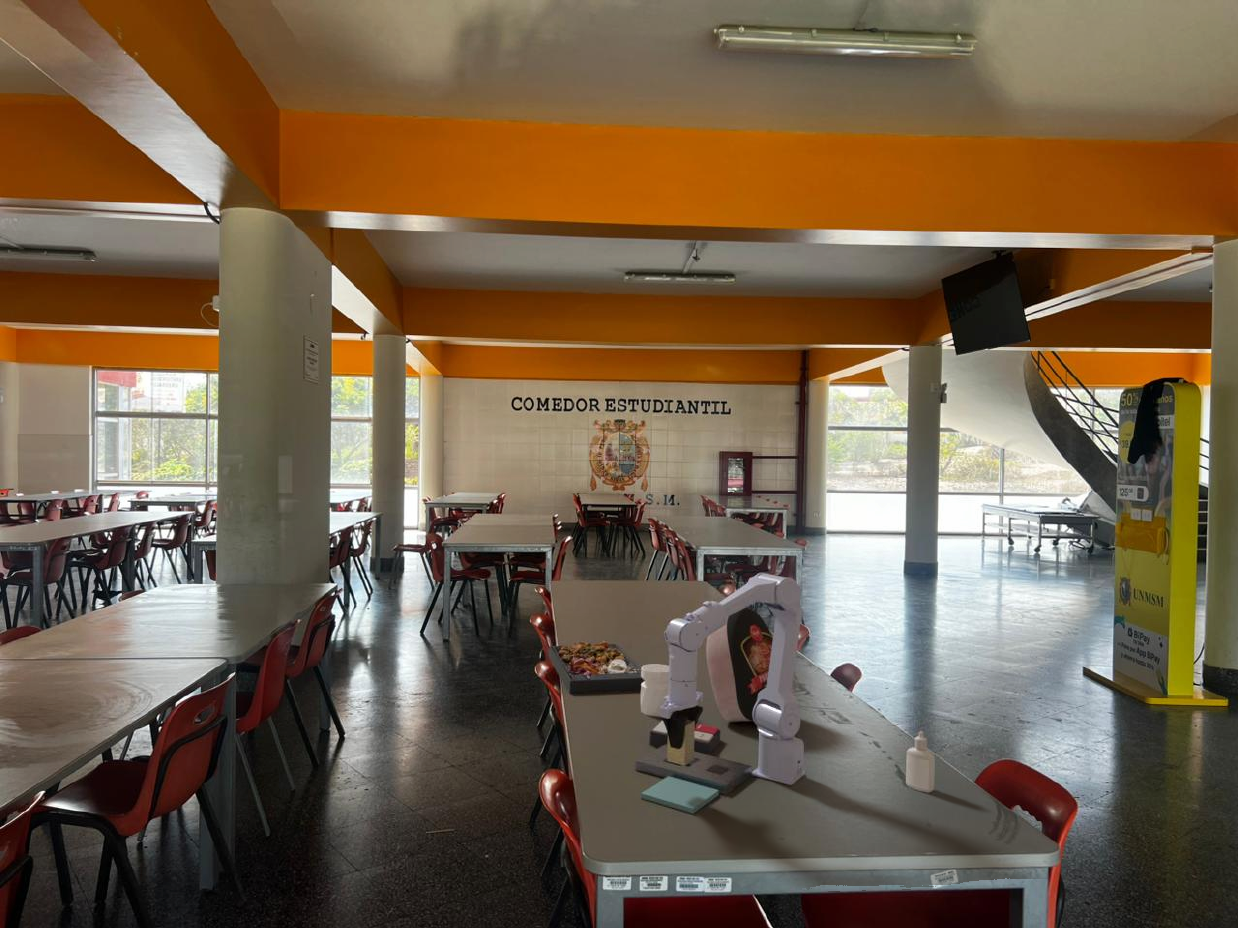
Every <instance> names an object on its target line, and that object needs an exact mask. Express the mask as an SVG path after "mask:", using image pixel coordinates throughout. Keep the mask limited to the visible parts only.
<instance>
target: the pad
mask: <svg viewBox="0 0 1238 928" xmlns="http://www.w3.org/2000/svg"><path fill="white" fill-rule="evenodd" d="M719 794H720V793H719V790H716V789H713V788H709V787H706V786H702V785H698V784H695V783H691V782H687V781H684V780H680V779H677V778H673V777H669V776H668V777H666V778H663V779H662V780H660V781H658V782H656V783H655V784H654V785H652V786H650V787H649V788H647V789H646V790H644V791H643V792H641V793H640V799H642V800H646V801H650V802H651V803H656V804H659V805H662V806H666V807H668V808H672V809H675V810H679V811H683V812H684V813H689V814H692V815H693V814H695V813H696V812H698V811H699V810H701V809H702V808H703V807H704V806H706V805H707V804H708V803H710V802H711V801H713V800H714V799H716V798H717V797H718V796H719Z"/></svg>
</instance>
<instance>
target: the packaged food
mask: <svg viewBox="0 0 1238 928" xmlns="http://www.w3.org/2000/svg"><path fill="white" fill-rule="evenodd" d="M772 642H773V635H772V632H771V631H770V629H769V627H768V625H767V623H766V622H765V620H764V618H762V616H761V614H759V612H757V611H756V610H754V609H752V608H750V607H748V606H747V607H746V608H744V609H742V610H740V611H738V612H736V613H734V614H732V615H730V616H729V617H728V619H727V623H726V625H725V626H723V627H721V628H720V629H718V630H717V631H715V632H713V633H712V634H710V635H709V636H707V637H706V647H705V649H706V651H705V652H706V663H707V669H708V675H709V681H710V684H711V690H712V693H713V695H714V696H713V697H714V699H715V700H714V701H715V703H716V707H717V709H718V712H719V713H720V715H721V716H722V717H723V719H724V720H725V721H727V722H731V723H735V722H736V723H737V722H754V720H753V717H752V712H753V708H754V706H755V704H756V702H757V699H758V694H759V692H761V691H762V690H764V689H765V688H766V687H767V680H768V672H769V665H770V657H771V650H772Z"/></svg>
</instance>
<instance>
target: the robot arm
mask: <svg viewBox="0 0 1238 928" xmlns="http://www.w3.org/2000/svg"><path fill="white" fill-rule="evenodd" d="M801 596H802V587H801V586H800V584H798V582H797V581H796V580H795V579H794V578H792V577H785V576H779V575H774V574H770V573H768V572H767V573H766V572H759V573H757V574H756V575H755V576H752V577H749V579H748V581H747V582H746V583H745V584H744V585H742V586H740V588H738V589H737V590H735V591H734V592H732V593H731V594H729V595H728V596H727V597H725V598H724V599H722V600H721V601H719V602H718V601H715V600H714V601H713V600H711V601H710V600H709V601H708V600H706V601H704V602H702V606H701V607H699V608H698V609H696V610H694V611H692V612H688V613H686V614H685V616H684V617H683V618H681V617H678V618H674V619H672V620H671V621H670V622H669V623H668V625H666V626H667V627H666V628H665V631H663V636H664V640H665V641H666V643H667V645H668V652H669V656H668V659H669V661H668V666H669V695H668V696H665V697H664V701H666V702H665V703H664V705H663V706H662V707H660V716H659V717H660V719H661V721H662V720H663V722H664V724H665V727H666V730H667V733H668V737H669V742H670V746H671V747H672V748H676V749H680V748H681V745H682V740H683V732H684V728H685V724H686V722H687V720H688V719H689V720H693V721H695V728H696V724H698V722H699V719H700V717H701V715H702V714H703V711H704V707H703V706H701V705H698V704H699V703H700V704H701V703H702V702H703V703H704V692H701V691H697V682H698V681H697V680H698V679H697V678H698V676H697V675H698V649H700V648H701V646H702V645H703V643H704V640H705V639H707V638H708V636H709V635H710V634H712V633H713V632H715V631H717V630H718V629H720V628H721V627H723V626H725V625H726V623H727V619H728V617H729V616H730V615H732V614H734V613H736V612H738V611H740V610H742V609H744V608H746V607H747V608H748V607H749V606H751V605H753V604H756V603H761V604H763V605H764V606H766V607H767V608H768V609H769V611H770V612H771V613H772V614H773V616H774V618H775V619H774V620H775V621H774V627H773V635H772V637H773V642H772V650H771V657H770V665H769V672H768V680H767V687H766V688H765V689H764V690H762V691H761V692H759V694H758V699H757V702H756V704H755V706H754V708H753V712H752V717H753V720H754V721H753V722H754V724H755V725H756V727H757V731H758V763H757V764H758V765H757V766H758V767H757V768H755V769H754V770H753V771H752V773H751V776H755V777H758V778H761V779H765V780H770V781H774V782H777V783H780V784H781V783H782V784H786V785H789V786H793V784H795V783H796V782H797V781H799V779H801V778H802V777H803V776H804V775H805V771H804V765H805V764H804V763H805V762H804V760H805V746H804V744H805V743H804V741H803V739H801V738H797V737H795V735H797V733H798V731H799V730H800V727H801V717H800V712H799V711H800V703H799V701H798V700H797V698H796V697H795V696H794V694H793V692H792V691H793V683H794V673H795V668H796V667H795V666H796V659H797V653H798V644H799V636H800V631H801V629H800V628H801V621H802V613H803V612H802V606H801V601H802V600H801V599H802V597H801Z"/></svg>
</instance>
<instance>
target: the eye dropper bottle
mask: <svg viewBox="0 0 1238 928" xmlns="http://www.w3.org/2000/svg"><path fill="white" fill-rule="evenodd" d="M905 763H906V765H905V767H906V769H905V784H906V785H907V787H909V788H911V789H913V790H916V791H919V792H922V793H931V792H933V791H935V790H934V789H935V770H936V769H935V765H936V764H935V763H936V761H935V755H934V754H933V752H931V751H930V750H928V739H927V738H926V737H924V732H923V731H921V730H920V731H919V732H918V736H915V737H914V747H910V748H909V749H907V751H906V761H905Z"/></svg>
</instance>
